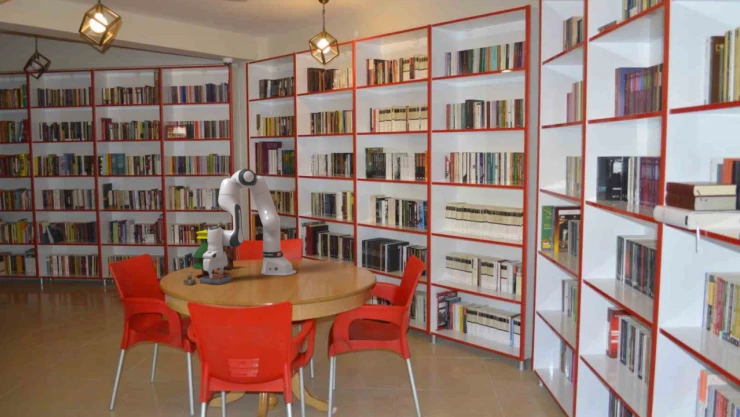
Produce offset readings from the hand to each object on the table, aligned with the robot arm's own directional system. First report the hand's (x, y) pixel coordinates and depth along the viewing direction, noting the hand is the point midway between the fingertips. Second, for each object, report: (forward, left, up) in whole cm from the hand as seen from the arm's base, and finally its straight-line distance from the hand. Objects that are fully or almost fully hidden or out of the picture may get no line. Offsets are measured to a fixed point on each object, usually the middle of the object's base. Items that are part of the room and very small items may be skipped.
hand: (216, 275), depth 364 cm
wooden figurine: (+18, -36, -4) cm, 40 cm away
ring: (0, 0, -3) cm, 3 cm away
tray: (0, 0, -4) cm, 4 cm away
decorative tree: (+15, -13, -4) cm, 20 cm away
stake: (+11, +11, -4) cm, 16 cm away
